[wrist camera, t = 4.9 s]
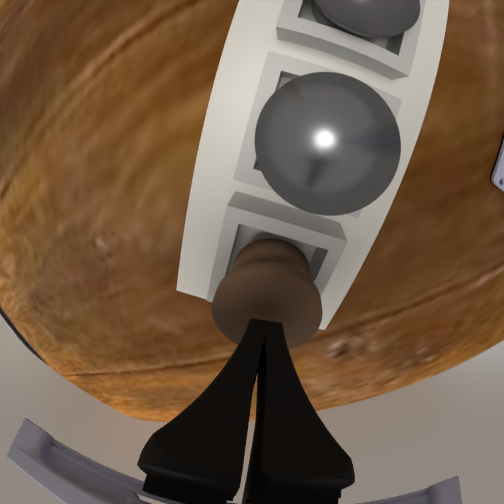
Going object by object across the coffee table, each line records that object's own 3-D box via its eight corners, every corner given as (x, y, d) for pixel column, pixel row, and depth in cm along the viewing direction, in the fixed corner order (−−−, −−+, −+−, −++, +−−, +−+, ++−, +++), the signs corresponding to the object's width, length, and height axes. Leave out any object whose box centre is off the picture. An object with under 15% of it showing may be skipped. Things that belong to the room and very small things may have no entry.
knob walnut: (330, 247, 14) (341, 288, 11) (298, 315, 17) (298, 360, 14) (237, 219, 14) (222, 255, 11) (219, 293, 17) (204, 336, 14)
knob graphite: (399, -1, 8) (425, -21, 5) (383, 64, 11) (411, 54, 8) (314, -33, 8) (320, -63, 5) (293, 31, 11) (295, 9, 7)
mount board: (441, 2, 8) (468, -11, 5) (323, 319, 22) (327, 353, 18) (269, -61, 8) (264, -89, 4) (181, 281, 21) (165, 311, 18)
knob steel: (384, 106, 10) (418, 108, 7) (350, 201, 13) (369, 233, 10) (279, 68, 10) (277, 52, 7) (250, 169, 13) (238, 191, 10)
